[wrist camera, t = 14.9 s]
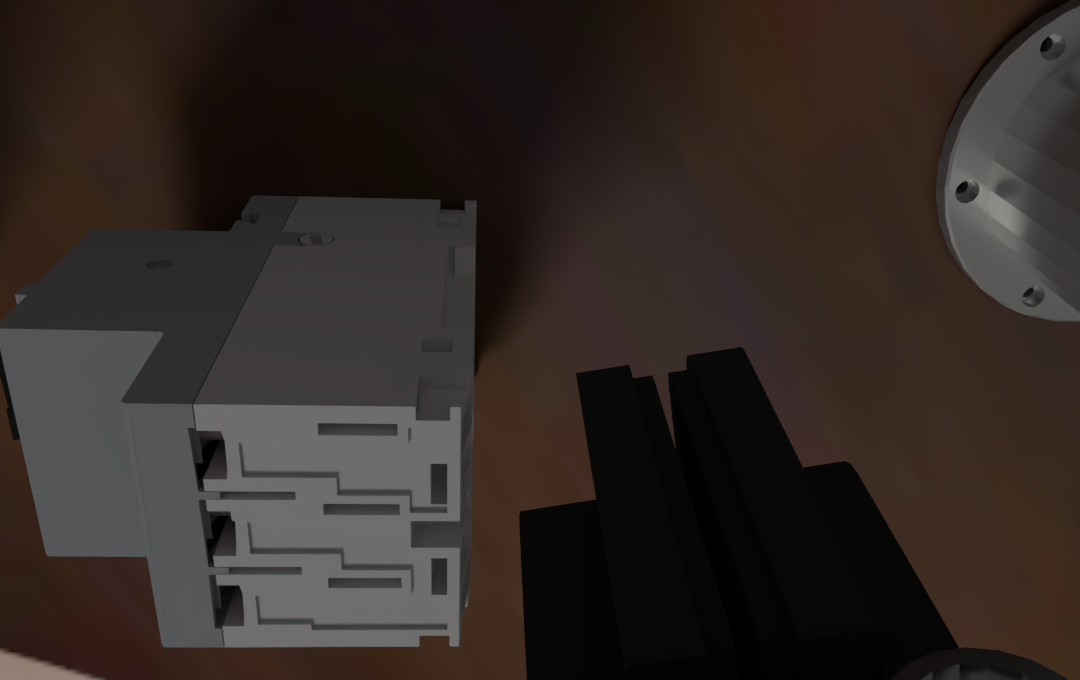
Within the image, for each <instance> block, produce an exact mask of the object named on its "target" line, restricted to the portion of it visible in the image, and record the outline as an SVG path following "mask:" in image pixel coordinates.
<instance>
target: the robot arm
mask: <svg viewBox="0 0 1080 680" xmlns="http://www.w3.org/2000/svg"><path fill="white" fill-rule="evenodd" d="M1045 39H1046V43H1045V45H1044V46H1043V47H1042V48H1041V49H1040V47H1041V44H1042V42H1043V41H1044V40H1045ZM962 182H963V184H962V186H961V187H960V188H959V189H957V187H958V186H959V185H960V184H961V183H962ZM956 189H957V190H956ZM936 202H937V209H938V217H939V224H940V227H941V230H942V232H943V235H944V238H945V241H946V243H947V246H948V249H949V251H950V252H951V254H952V255H953V257H954V258H955V260H956V261H957V263H958V264H959V266H960V267H961V269H962V270H963V272H964V273H965V274H966V275H968V276H969V277H970V278H971V279H972V280H973V281H974V282H975V283H976V284H977V285H978V286H979V287H980V288H981V289H982V290H983V291H984V292H986V293H987V294H988V295H990V296H991V297H993V298H994V299H995V300H997V301H998V302H999V303H1001V304H1002V305H1004V306H1006V307H1008V308H1011V309H1013V310H1015V311H1017V312H1019V313H1021V314H1024V315H1027V316H1032V317H1037V318H1042V319H1047V320H1052V321H1080V0H1070V1H1068V2H1067V3H1065V4H1063V5H1061V6H1059V7H1058V8H1056V9H1054V10H1052V11H1051V12H1049V13H1047V14H1045V15H1043V16H1042V17H1040V18H1038V19H1037V20H1035V21H1034V22H1033V23H1032V24H1030V25H1029V26H1028V27H1027V28H1025V29H1024V30H1023V31H1021V32H1020V33H1019V34H1018V35H1016V36H1015V37H1014V38H1013V39H1011V40H1010V41H1009V42H1008V43H1007V44H1006V45H1005V46H1004V47H1003V48H1002V49H1001V50H1000V51H999V52H998V53H997V54H996V55H995V57H994V58H993V59H992V60H991V61H990V62H989V63H988V64H987V65H986V66H985V67H984V68H983V69H982V71H981V72H980V74H979V75H978V77H977V78H976V80H975V81H974V82H973V84H972V85H971V87H970V88H969V90H968V91H967V93H966V94H965V96H964V97H963V99H962V100H961V102H960V104H959V107H958V109H957V111H956V113H955V115H954V117H953V120H952V122H951V124H950V126H949V128H948V130H947V133H946V136H945V140H944V144H943V147H942V151H941V155H940V159H939V162H938V171H937V184H936ZM686 368H687V370H684V371H678V372H671V373H669V375H668V381H669V392H670V401H671V410H672V419H673V428H674V437H675V446H676V450H675V447H674V443H673V440H672V437H671V434H670V430H669V427H668V424H667V421H666V417H665V414H664V411H663V408H662V404H661V401H660V398H659V395H658V391H657V388H656V385H655V382H654V379H653V376H646V377H640V378H633V377H632V373H631V369H630V366H629V365H625V366H619V367H612V368H606V369H600V370H593V371H587V372H581V373H576V375H577V382H578V388H579V395H580V401H581V407H582V414H583V420H584V427H585V433H586V439H587V446H588V452H589V458H590V465H591V471H592V478H593V484H594V490H595V497H596V500H591V501H584V502H578V503H571V504H565V505H558V506H552V507H545V508H539V509H532V510H526V511H520V515H519V520H520V545H521V566H522V587H523V607H524V628H525V649H526V670H527V680H1068V679H1067V678H1065V677H1064V676H1062V675H1060V674H1058V673H1057V672H1055V671H1053V670H1051V669H1049V668H1047V667H1045V666H1043V665H1041V664H1039V663H1037V662H1035V661H1034V660H1031V659H1027V658H1024V657H1021V656H1017V655H1014V654H1010V653H1007V652H1003V651H1000V650H990V649H978V648H966V647H965V648H959V647H958V645H957V644H956V642H955V640H954V638H953V637H952V635H951V633H950V632H949V630H948V628H947V626H946V625H945V623H944V621H943V620H942V618H941V616H940V614H939V613H938V611H937V609H936V608H935V606H934V604H933V602H932V601H931V599H930V597H929V595H928V594H927V592H926V590H925V589H924V587H923V585H922V583H921V582H920V580H919V578H918V577H917V575H916V573H915V571H914V570H913V568H912V566H911V564H910V563H909V561H908V559H907V558H906V556H905V554H904V552H903V551H902V549H901V547H900V546H899V544H898V542H897V540H896V539H895V537H894V535H893V533H892V532H891V530H890V528H889V527H888V525H887V523H886V521H885V520H884V518H883V516H882V515H881V513H880V511H879V509H878V508H877V506H876V504H875V502H874V501H873V499H872V497H871V496H870V494H869V492H868V490H867V489H866V487H865V485H864V484H863V482H862V480H861V478H860V477H859V475H858V473H857V472H856V470H855V469H854V468H853V466H852V465H851V464H850V463H848V462H845V461H843V462H836V463H830V464H823V465H817V466H810V467H804V468H803V467H802V465H801V463H800V461H799V459H798V457H797V455H796V453H795V451H794V449H793V447H792V445H791V443H790V441H789V439H788V437H787V435H786V433H785V431H784V429H783V427H782V425H781V423H780V421H779V419H778V417H777V415H776V413H775V411H774V409H773V407H772V405H771V403H770V401H769V399H768V397H767V395H766V393H765V391H764V389H763V387H762V385H761V383H760V381H759V379H758V377H757V375H756V373H755V371H754V369H753V367H752V365H751V363H750V361H749V359H748V357H747V355H746V353H745V351H744V350H743V348H742V347H739V348H733V349H726V350H720V351H714V352H707V353H701V354H695V355H688V356H687V359H686Z"/></svg>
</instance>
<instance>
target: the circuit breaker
mask: <svg viewBox="0 0 1080 680" xmlns="http://www.w3.org/2000/svg"><path fill="white" fill-rule="evenodd" d="M476 206H477V201H474V200H465V210H440V200H432V199H390V198H348V197H306V196H299V198H298V196H262V195H255V196H252V197H251V199H250V200H249V202H248V203H247V205H246V206H245V208H244V209H243V211H242V213H241V216H242V221H240V220H236V222H235V223H234V225H233V227H232V228H231V230H229V231H185V230H134V229H93V230H91V231H90V232H89V233H88V234H87V235H86V236H85V237H84V238H83V239H82V240H81V241H80V242H79V243H78V244H77V245H76V246H75V247H74V248H73V249H72V250H71V251H70V252H69V253H68V254H67V255H66V256H65V257H64V258H63V259H62V260H61V261H60V262H59V263H58V264H57V265H56V266H55V267H54V268H53V270H51V271H50V272H49V273H48V274H47V275H46V276H45V277H44V278H43V279H42V280H41V281H40V282H39V283H38V284H25V285H24V286H23V287H22V288H21V289H20V290H19V291H18V292H17V293H16V294H15V296H16V301H17V306H16V307H15V308H14V309H13V310H12V311H11V312H10V313H9V314H8V315H7V316H6V318H4V319H3V320H2V321H1V322H0V377H1V381H2V384H3V388H4V392H5V396H6V400H7V403H8V407H9V408H8V409H7V415H8V419H9V423H10V427H11V431H12V436H13V440H21V444H22V449H23V453H24V458H25V462H26V466H27V471H28V475H29V480H30V484H31V489H32V493H33V497H34V502H35V506H36V511H37V515H38V519H39V524H40V528H41V533H42V537H43V542H44V546H45V550H46V554H47V555H48V556H106V557H147V559H148V565H149V571H150V576H151V582H152V588H153V594H154V600H155V606H156V612H157V618H158V624H159V630H160V636H161V642H162V645H163V646H164V647H224V645H225V647H414V646H419V644H420V636H450V646H459V644H460V639H461V624H462V619H463V615H464V610H465V607H467V606H468V601H469V596H470V562H471V494H472V439H473V408H474V348H475V277H476Z"/></svg>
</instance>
